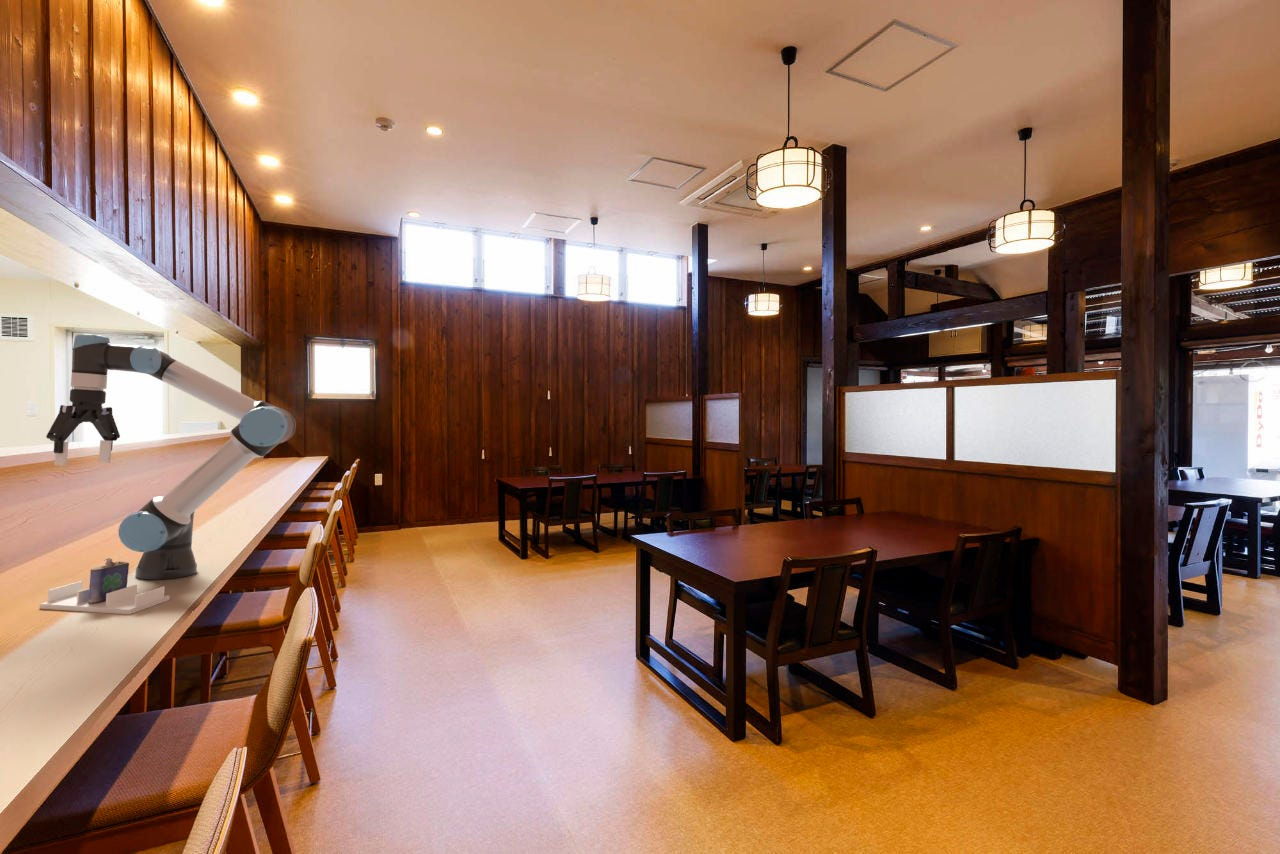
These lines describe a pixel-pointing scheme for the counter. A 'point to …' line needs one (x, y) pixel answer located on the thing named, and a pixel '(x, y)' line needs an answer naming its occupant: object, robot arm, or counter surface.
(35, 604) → the counter surface
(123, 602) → the rack
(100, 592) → the flask
